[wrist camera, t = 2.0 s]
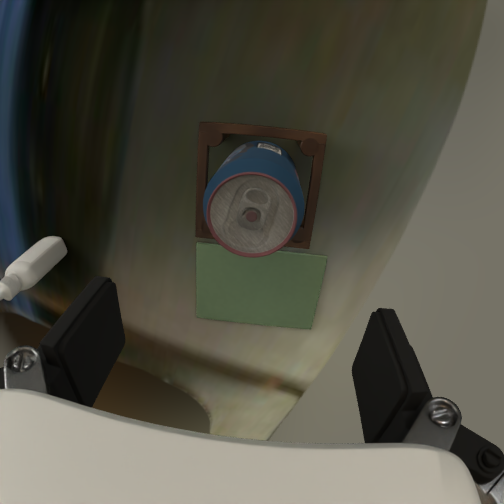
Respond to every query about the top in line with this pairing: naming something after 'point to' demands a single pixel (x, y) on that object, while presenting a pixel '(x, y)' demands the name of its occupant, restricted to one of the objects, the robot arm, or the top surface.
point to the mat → (258, 287)
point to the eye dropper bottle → (32, 266)
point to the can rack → (306, 140)
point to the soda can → (254, 200)
